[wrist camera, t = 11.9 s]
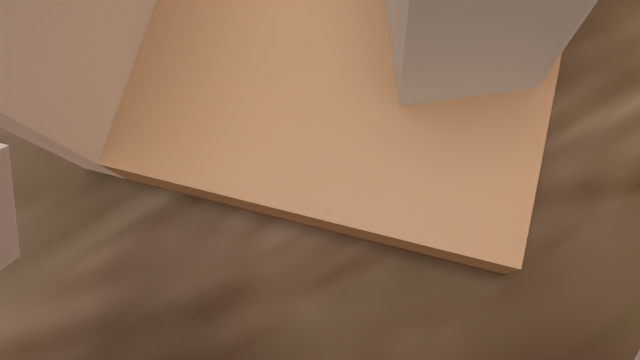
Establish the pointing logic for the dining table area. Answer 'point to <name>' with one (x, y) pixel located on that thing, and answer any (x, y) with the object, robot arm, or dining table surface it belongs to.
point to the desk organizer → (276, 118)
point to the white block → (477, 45)
